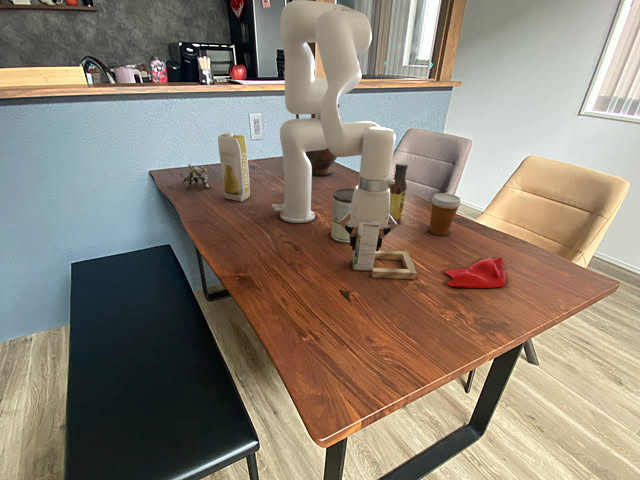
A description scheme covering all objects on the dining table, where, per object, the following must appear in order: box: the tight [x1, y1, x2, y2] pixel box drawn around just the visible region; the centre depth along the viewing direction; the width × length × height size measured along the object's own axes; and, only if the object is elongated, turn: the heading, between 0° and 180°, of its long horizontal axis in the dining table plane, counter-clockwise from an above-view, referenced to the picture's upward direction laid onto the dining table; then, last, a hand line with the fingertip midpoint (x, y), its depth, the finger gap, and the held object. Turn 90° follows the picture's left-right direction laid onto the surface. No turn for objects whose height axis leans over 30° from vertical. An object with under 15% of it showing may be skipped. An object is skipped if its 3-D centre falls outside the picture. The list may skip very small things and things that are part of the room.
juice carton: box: [217, 131, 251, 202], centre depth 139 cm, size 9×8×24 cm
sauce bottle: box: [388, 162, 409, 224], centre depth 128 cm, size 7×6×20 cm
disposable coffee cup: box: [428, 192, 462, 236], centre depth 124 cm, size 10×10×12 cm
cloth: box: [443, 257, 506, 289], centre depth 103 cm, size 26×14×2 cm, turn 120°
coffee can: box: [330, 188, 355, 243], centre depth 117 cm, size 10×10×14 cm
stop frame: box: [371, 249, 418, 280], centre depth 105 cm, size 12×13×2 cm
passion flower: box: [179, 163, 210, 189], centre depth 151 cm, size 11×11×12 cm
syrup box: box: [352, 221, 380, 272], centre depth 101 cm, size 6×6×14 cm
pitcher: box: [295, 103, 341, 177], centre depth 168 cm, size 17×21×30 cm
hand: (365, 248), depth 102 cm, fingers closed on syrup box, 5 cm apart
